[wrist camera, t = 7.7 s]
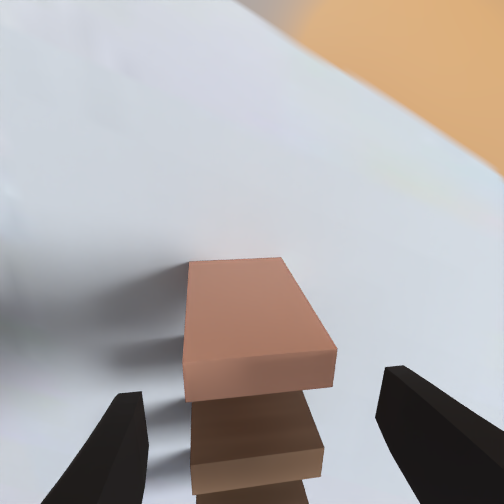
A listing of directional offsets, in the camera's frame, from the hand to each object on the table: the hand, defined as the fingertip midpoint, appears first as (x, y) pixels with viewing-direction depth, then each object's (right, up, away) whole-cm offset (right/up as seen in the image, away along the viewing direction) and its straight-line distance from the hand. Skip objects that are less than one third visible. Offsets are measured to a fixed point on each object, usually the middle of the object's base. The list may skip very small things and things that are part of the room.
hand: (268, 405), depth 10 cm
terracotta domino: (-1, +3, +8) cm, 9 cm away
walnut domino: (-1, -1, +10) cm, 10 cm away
